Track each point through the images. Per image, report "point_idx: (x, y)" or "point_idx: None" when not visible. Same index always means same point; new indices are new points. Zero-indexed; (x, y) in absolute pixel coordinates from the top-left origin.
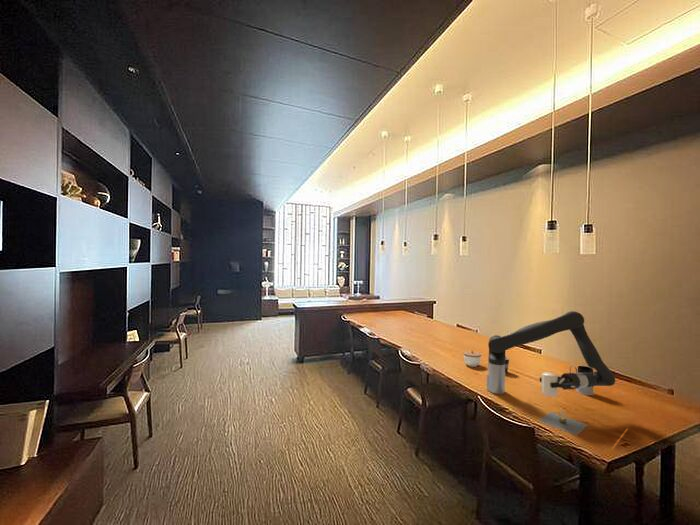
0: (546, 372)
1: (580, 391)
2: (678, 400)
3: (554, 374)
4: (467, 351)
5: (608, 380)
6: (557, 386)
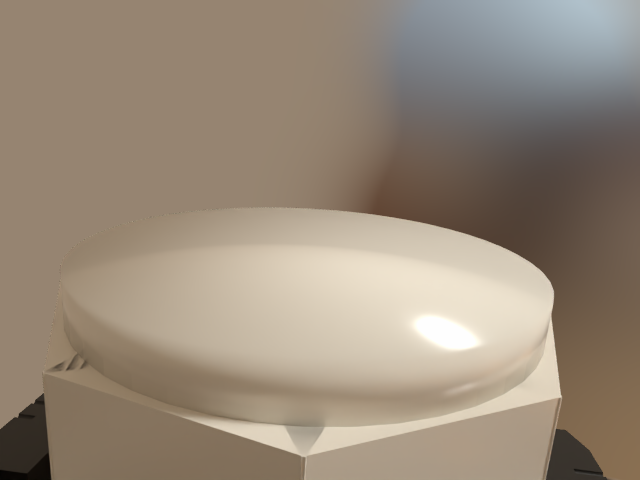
0: (518, 281)
1: None
2: None
3: (216, 316)
4: None
5: None
6: None
